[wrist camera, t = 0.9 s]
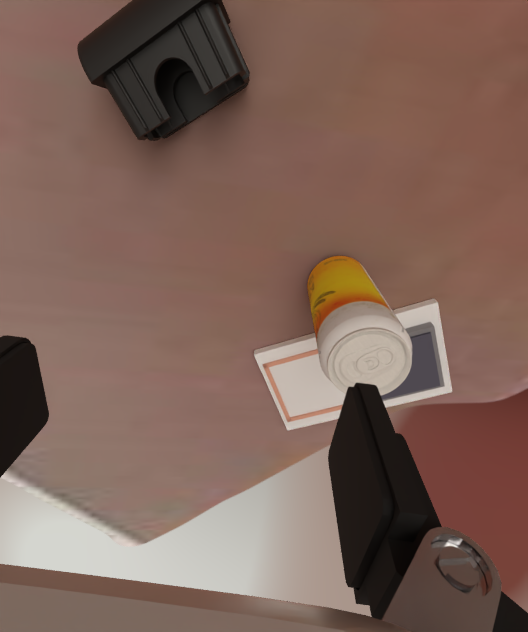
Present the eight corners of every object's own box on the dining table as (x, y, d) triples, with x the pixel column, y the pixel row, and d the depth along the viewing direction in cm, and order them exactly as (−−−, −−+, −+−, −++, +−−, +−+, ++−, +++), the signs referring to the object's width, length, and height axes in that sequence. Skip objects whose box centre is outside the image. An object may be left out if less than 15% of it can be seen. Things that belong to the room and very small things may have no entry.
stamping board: (433, 298, 35) (443, 307, 33) (448, 386, 40) (457, 399, 38) (254, 350, 39) (252, 361, 37) (287, 424, 44) (287, 438, 42)
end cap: (211, -22, 25) (189, -75, 19) (256, 80, 28) (249, 62, 22) (107, 57, 28) (58, 31, 22) (157, 143, 30) (126, 142, 24)
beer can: (296, 272, 35) (304, 350, 22) (350, 242, 33) (395, 306, 20) (323, 318, 37) (346, 415, 24) (376, 291, 35) (432, 380, 22)
